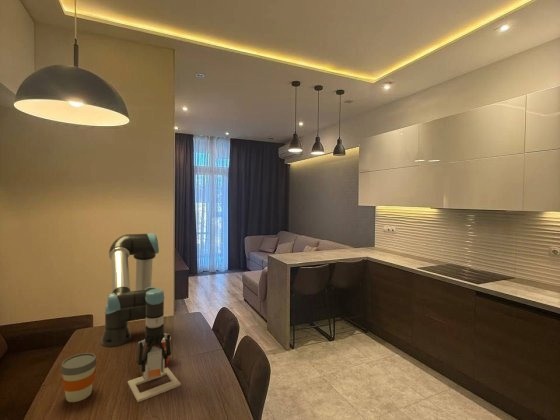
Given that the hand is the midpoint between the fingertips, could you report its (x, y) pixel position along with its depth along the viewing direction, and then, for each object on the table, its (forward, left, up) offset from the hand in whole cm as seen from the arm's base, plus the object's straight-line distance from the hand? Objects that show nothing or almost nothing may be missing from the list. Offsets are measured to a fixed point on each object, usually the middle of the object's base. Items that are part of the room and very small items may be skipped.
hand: (154, 374), depth 134 cm
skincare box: (0, 0, -1) cm, 1 cm away
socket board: (0, 0, -5) cm, 5 cm away
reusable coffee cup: (-12, -27, -5) cm, 30 cm away
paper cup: (-15, +9, -5) cm, 18 cm away
